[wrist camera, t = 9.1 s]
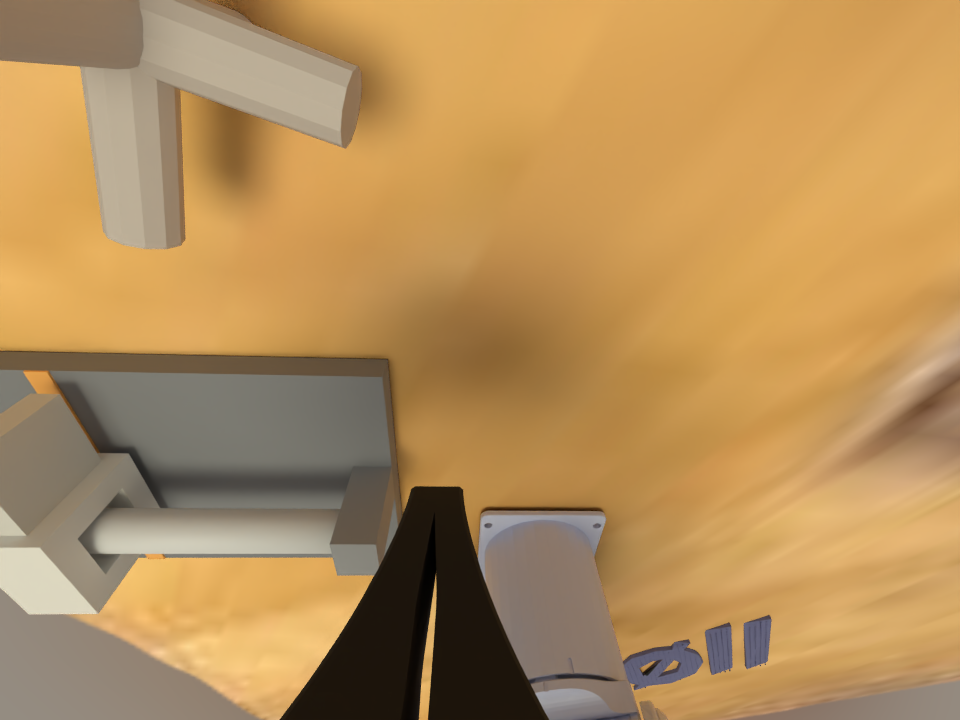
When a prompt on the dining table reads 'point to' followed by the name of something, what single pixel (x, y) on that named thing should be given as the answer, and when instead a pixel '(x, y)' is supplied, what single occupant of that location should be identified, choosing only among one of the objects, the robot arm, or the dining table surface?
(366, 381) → the pipe board
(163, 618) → the dining table surface
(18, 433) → the collar
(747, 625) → the signage
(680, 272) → the dining table surface
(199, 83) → the pipe connector
